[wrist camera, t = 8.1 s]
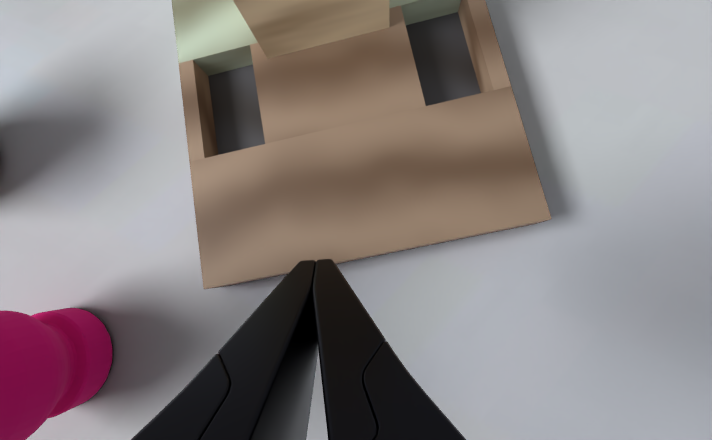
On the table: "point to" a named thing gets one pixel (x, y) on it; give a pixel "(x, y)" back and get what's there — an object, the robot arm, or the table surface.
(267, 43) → the maple block
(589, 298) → the table surface
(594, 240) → the table surface
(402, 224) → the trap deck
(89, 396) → the pepper mill
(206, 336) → the table surface
